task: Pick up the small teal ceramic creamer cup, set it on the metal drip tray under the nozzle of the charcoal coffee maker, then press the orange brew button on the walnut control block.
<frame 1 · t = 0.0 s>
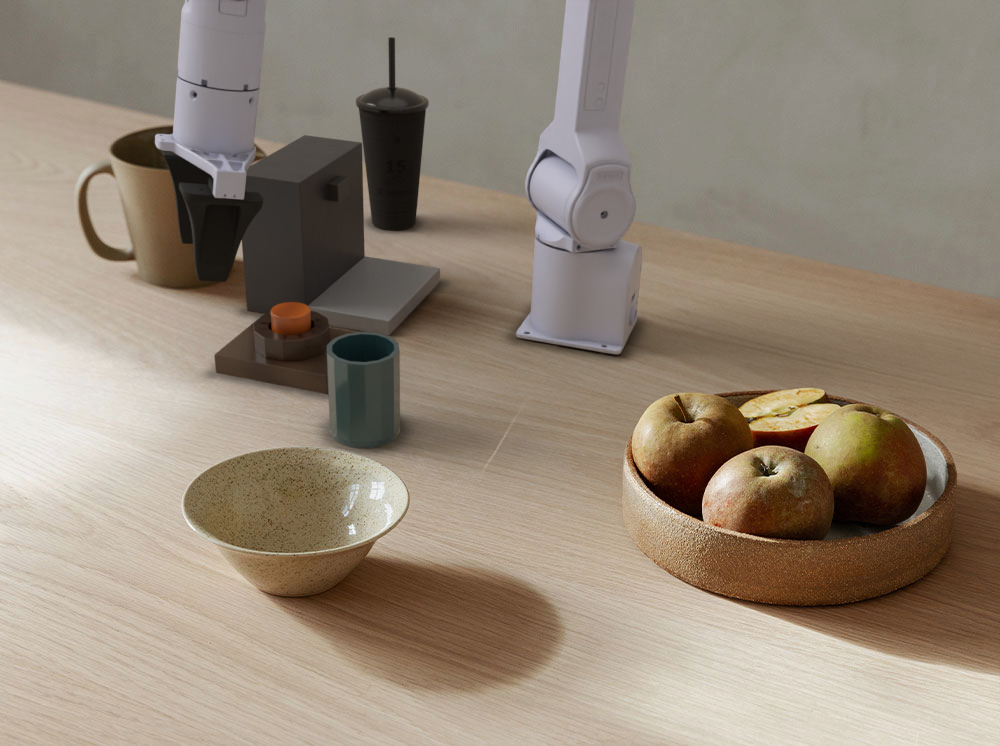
hand: (203, 260, 84), 11 cm above the table, tool pointing down, fingers open, 7 cm apart
creamer cup: (365, 430, 83), on the table
coffee maker: (351, 296, 104), on the table
brew button: (291, 319, 90), point 4 cm above the table, slide at 0.1 cm
drinking cup: (393, 224, 122), on the table
button block: (293, 362, 92), on the table
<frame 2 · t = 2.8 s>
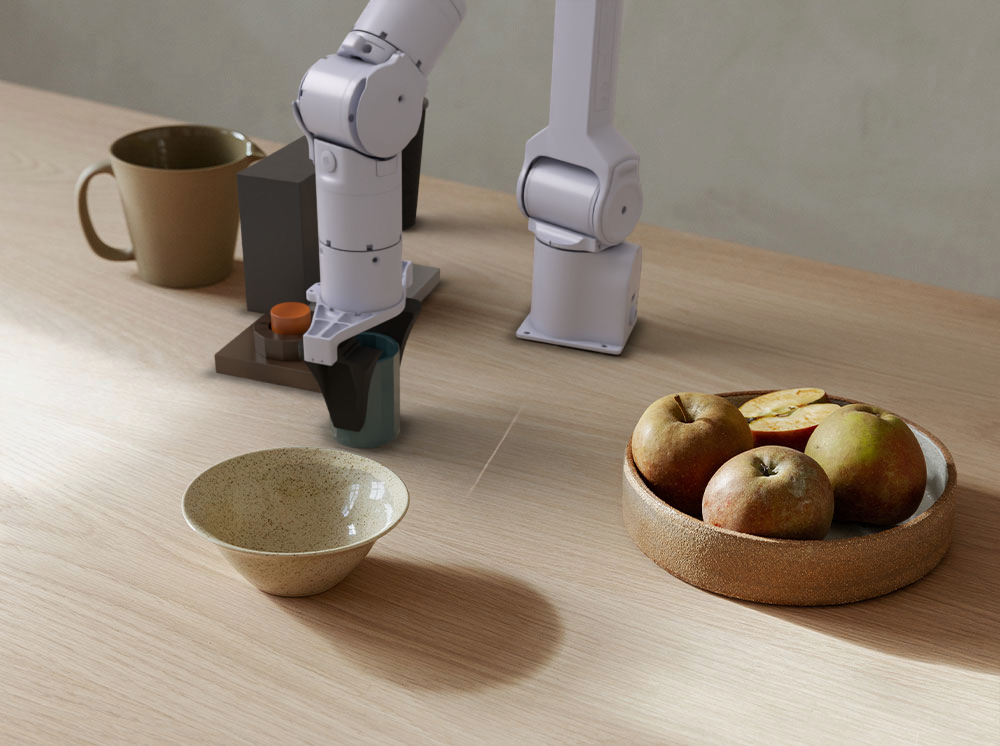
hand: (364, 408, 82), 2 cm above the table, tool pointing down, fingers closed on creamer cup, 5 cm apart
creamer cup: (365, 430, 83), on the table, touching gripper
everything else where it was.
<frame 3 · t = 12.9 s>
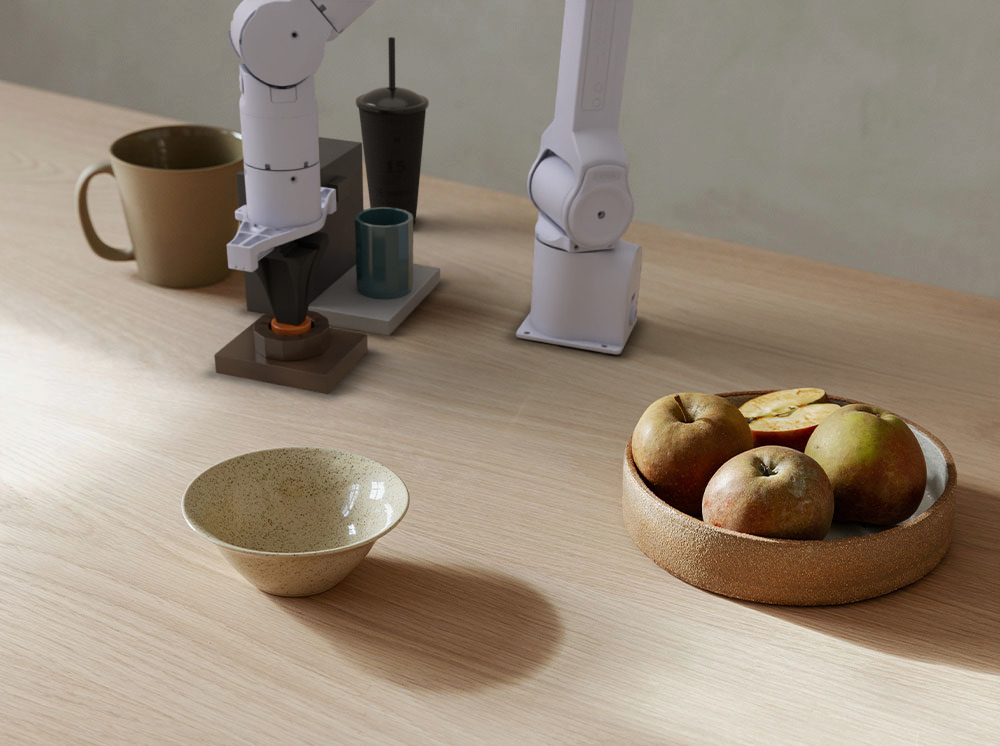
hand: (290, 321, 91), 4 cm above the table, tool pointing down, fingers closed, pressing on brew button
creamer cup: (384, 288, 103), point 1 cm above the table, touching coffee maker
brew button: (291, 330, 91), point 3 cm above the table, slide at -0.9 cm, touching gripper
everything else where it was.
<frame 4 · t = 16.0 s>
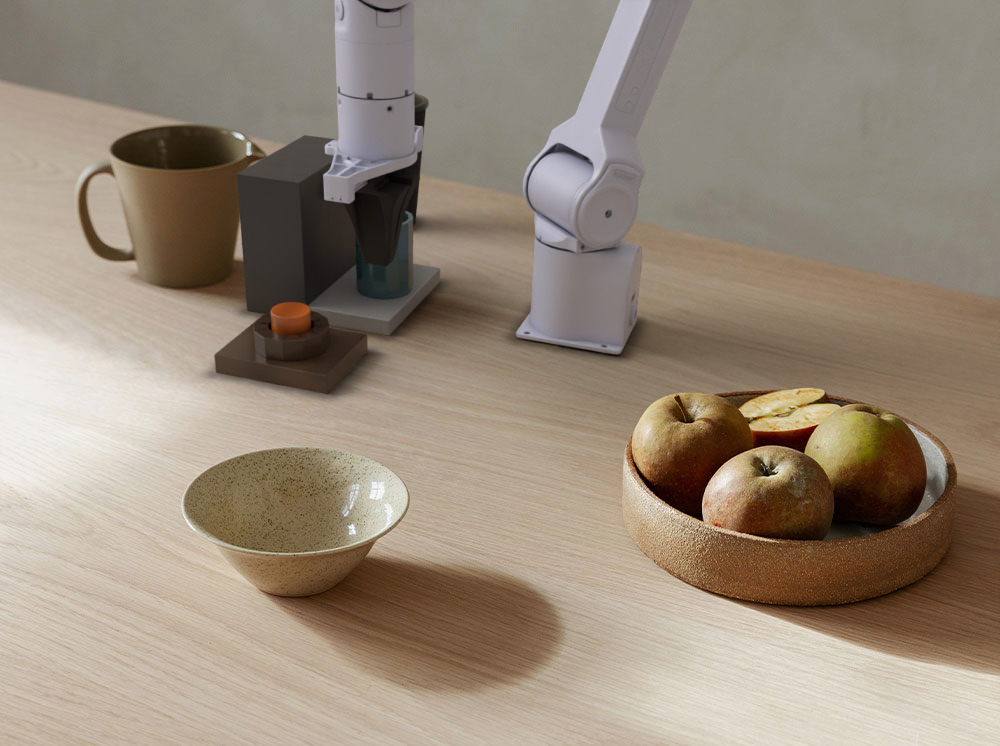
hand: (378, 261, 88), 9 cm above the table, tool pointing down, fingers closed
brew button: (291, 319, 90), point 4 cm above the table, slide at 0.1 cm
everything else where it was.
at the end: creamer cup 0.1 cm from the target spot on the coffee maker, point 1.5 cm above the coffee maker's base; creamer cup tilted 0°; brew button pushed in 1.2 cm at the most during the clip, back to where it started at the end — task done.
